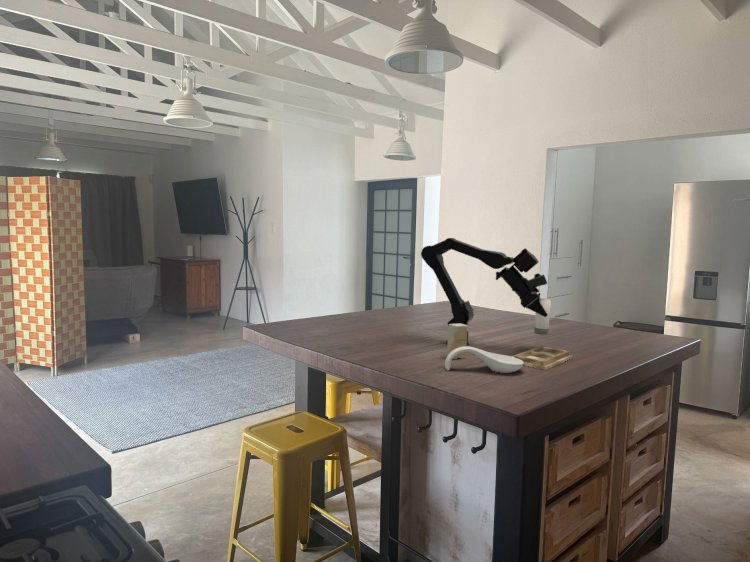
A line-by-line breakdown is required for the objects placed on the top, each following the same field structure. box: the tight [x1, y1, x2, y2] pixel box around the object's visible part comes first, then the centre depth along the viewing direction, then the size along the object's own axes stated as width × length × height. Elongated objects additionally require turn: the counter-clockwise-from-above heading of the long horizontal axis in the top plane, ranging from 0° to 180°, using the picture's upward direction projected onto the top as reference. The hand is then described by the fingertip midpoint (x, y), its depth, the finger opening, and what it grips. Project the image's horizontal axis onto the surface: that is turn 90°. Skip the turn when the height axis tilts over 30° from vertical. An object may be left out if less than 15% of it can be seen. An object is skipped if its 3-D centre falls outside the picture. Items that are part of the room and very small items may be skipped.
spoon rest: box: [444, 345, 524, 374], centre depth 161 cm, size 24×12×7 cm, turn 91°
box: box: [446, 323, 469, 360], centre depth 175 cm, size 5×4×11 cm
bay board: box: [510, 345, 573, 371], centre depth 175 cm, size 14×21×2 cm, turn 138°
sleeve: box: [533, 297, 552, 336], centre depth 184 cm, size 5×5×12 cm
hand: (546, 315), depth 184 cm, fingers closed on sleeve, 5 cm apart
